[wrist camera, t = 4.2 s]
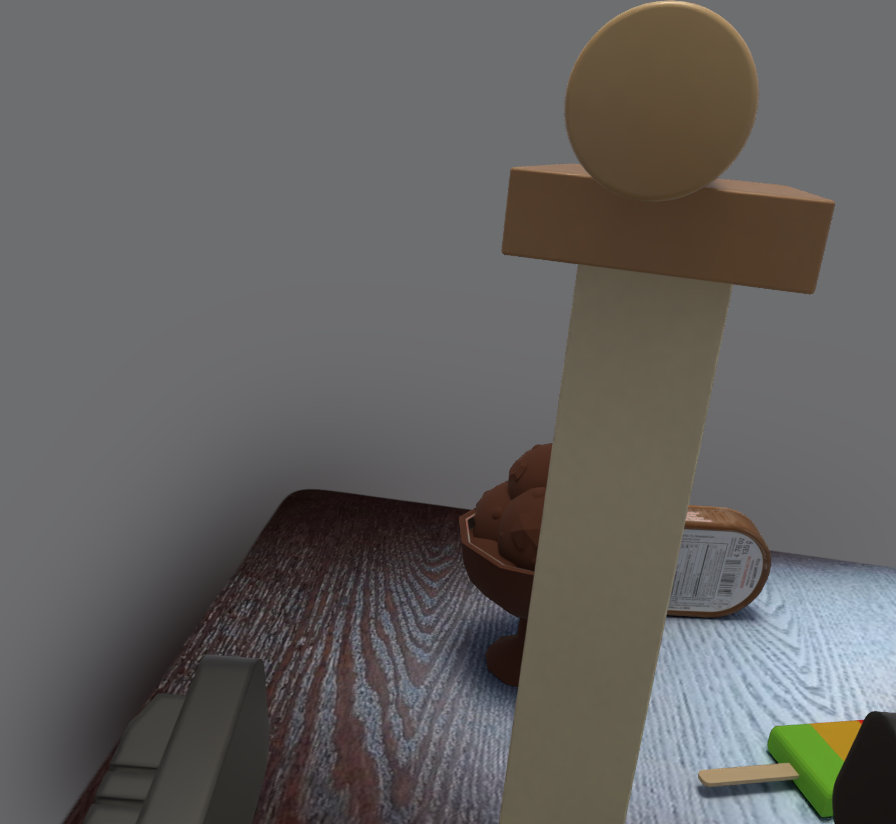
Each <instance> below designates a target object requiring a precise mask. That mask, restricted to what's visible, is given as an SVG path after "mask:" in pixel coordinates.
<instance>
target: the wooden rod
mask: <svg viewBox="0 0 896 824" xmlns="http://www.w3.org/2000/svg"><path fill="white" fill-rule="evenodd" d="M758 100H759V84H758V76H757V71H756V66H755V63H754V61H753V58H752V55H751V53H750V51H749V49H748V47H747V45H746V43H745V41H744V40H743V38H742V37H741V36H740V35H739V33H738V32H737V31H736V30H735V28H734V27H733V26H732V25H731V24H730V23H729V22H727V21H726V20H725V19H723V18H722V17H721V16H720V15H718V14H716V13H715V12H713V11H711V10H709V9H707V8H705V7H702V6H699V5H697V4H692V3H688V2H683V1H657V2H652V3H647V4H643V5H640V6H638V7H634V8H632V9H630V10H628V11H626V12H624V13H622V14H620V15H618V16H617V17H615V18H614V19H612V20H611V21H609V22H608V23H607V24H605V25H604V26H603V27H602V28H601V29H600V30H599V31H597V33H596V34H595V35H594V36H593V37H592V38H591V39H590V40H589V42H588V43H587V44H586V46H585V47H584V49H583V50H582V51H581V53H580V55H579V57H578V59H577V60H576V62H575V64H574V67H573V69H572V72H571V74H570V77H569V81H568V85H567V88H566V94H565V101H564V102H565V103H564V117H565V127H566V131H567V135H568V139H569V142H570V144H571V147H572V150H573V152H574V154H575V155H576V157H577V159H578V161H579V162H580V164H581V165H582V167H583V168H584V169H585V171H586V172H587V173H588V174H589V175H590V176H591V177H592V178H593V179H594V180H595V181H597V182H598V183H599V184H600V185H602V186H603V187H605V188H606V189H608V190H610V191H611V192H613V193H616V194H618V195H620V196H623V197H626V198H630V199H633V200H639V201H647V202H660V201H667V200H673V199H677V198H681V197H684V196H687V195H689V194H692V193H694V192H697V191H698V190H700V189H702V188H704V187H705V186H707V185H709V184H710V183H711V182H713V181H714V180H716V179H717V178H718V177H719V176H720V175H721V174H723V173H724V172H725V171H726V170H727V169H728V168H729V166H730V165H731V164H732V163H733V162H734V161H735V160H736V158H737V157H738V155H739V154H740V152H741V151H742V149H743V147H744V146H745V144H746V142H747V140H748V138H749V136H750V134H751V131H752V128H753V125H754V123H755V119H756V114H757V109H758Z"/></svg>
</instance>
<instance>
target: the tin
mask: <svg viewBox="0 0 896 824" xmlns="http://www.w3.org/2000/svg"><path fill="white" fill-rule="evenodd" d="M770 568H771V555H770V551H769V549H768V546H767V545H766V543H765V541H764V539H763V538H762V536H761V535H760V533H759V531H758V529H757V527H756V526H755V525H754V523H753V522H752V521H751V520H750V519H749V518H748V517H746V516H745V515H743V514H742V513H740V512H738V511H735V510H732V509H729V508H722V507H709V506H695V505H689V506H688V511H687V516H686V521H685V526H684V531H683V536H682V541H681V546H680V551H679V556H678V561H677V566H676V571H675V576H674V581H673V586H672V591H671V596H670V601H669V606H668V610H667V615H676V616H691V617H721V616H725V615H729V614H732V613H734V612H737V611H739V610H741V609H742V608H744V607H746V606H747V605H748V604H750V603H751V602H752V601H753V600H754V599H755V598H756V597H757V596H758V595H759V594H760V592H761V591H762V589H763V587H764V585H765V583H766V581H767V579H768V576H769V573H770Z"/></svg>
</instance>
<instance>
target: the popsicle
mask: <svg viewBox="0 0 896 824" xmlns="http://www.w3.org/2000/svg"><path fill="white" fill-rule="evenodd" d="M863 721H864V720H855V721H841V722H827V723H814V724H800V725H786V726H775V727H774V728H773V729H772V730H771V732H770V736H769V739H768V744H767V745H768V750H769V752H770V753H771V754H772V756H773V757H774V758H775V759H776V761H777V762H778V763H779V764H769V765H757V766H745V767H733V768H721V769H709V770H701V771H699V774H698V778H699V780H700V782H701V783H702V784H703V785H704V786H707V787H716V786H727V785H738V784H749V783H760V782H772V781H783V780H792V781H793V782H794V783H795V784H796V786H797V787H798V788H799V789H800V791H801V792H802V793H803V795H804V796H805V797H806V798H807V800H808V801H809V802H810V803H811V805H812V806H813V807H814V808H815V810H816V811H817V812H818V813H819V815H820V816H821V817H830V816H833V808H832V794H833V787H834V783H835V780H836V778H837V776H838V774H839V771H840V769H841V767H842V765H843V763H844V761H845V759H846V757H847V755H848V752H849V750H850V748H851V746H852V744H853V742H854V740H855V738H856V736H857V733H858V731H859V729H860V727H861V725H862V723H863Z"/></svg>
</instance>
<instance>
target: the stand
mask: <svg viewBox="0 0 896 824" xmlns="http://www.w3.org/2000/svg"><path fill="white" fill-rule="evenodd" d="M834 207H835V202H834V201H832V200H829V199H826V198H823V197H819V196H816V195H813V194H810V193H807V192H804V191H801V190H797V189H794V188H791V187H788V186H785V185H776V184H766V183H756V182H746V181H736V180H727V179H716V180H714V181H713V182H711V183H710V184H709V185H707V186H705V187H704V188H702V189H700V190H698V191H697V192H694V193H692V194H689V195H687V196H684V197H681V198H677V199H673V200H667V201H660V202H647V201H639V200H633V199H630V198H626V197H623V196H620V195H618V194H616V193H613V192H611V191H610V190H608V189H606V188H605V187H603V186H602V185H600V184H599V183H598V182H597V181H595V180H594V179H593V178H592V177H591V176H590V175H589V174H588V173H587V172H586V171H585V169H584V168H583V167H582V165H581V164H558V165H543V166H542V165H541V166H524V167H523V166H522V167H513V168H511V170H510V179H509V187H508V197H507V205H506V214H505V223H504V232H503V241H502V253H503V254H504V255H511V256H519V257H528V258H534V259H542V260H550V261H558V262H566V263H573V264H578V267H577V274H576V281H575V289H574V296H573V303H572V309H571V317H570V324H569V331H568V338H567V346H566V352H565V359H564V367H563V374H562V381H561V388H560V395H559V402H558V409H557V416H556V423H555V431H554V437H553V444H552V451H551V459H550V466H549V473H548V480H547V487H546V494H545V501H544V508H543V515H542V522H541V530H540V537H539V544H538V551H537V558H536V565H535V572H534V579H533V586H532V593H531V600H530V608H529V615H528V622H527V629H526V636H525V643H524V650H523V657H522V664H521V671H520V679H519V686H518V693H517V700H516V707H515V714H514V721H513V728H512V735H511V742H510V750H509V757H508V764H507V771H506V778H505V785H504V792H503V799H502V806H501V813H500V821H499V824H625V819H626V814H627V809H628V804H629V799H630V794H631V789H632V784H633V780H634V775H635V770H636V765H637V760H638V755H639V750H640V745H641V740H642V735H643V730H644V725H645V720H646V715H647V710H648V705H649V700H650V695H651V690H652V685H653V680H654V675H655V670H656V665H657V660H658V655H659V650H660V645H661V640H662V635H663V630H664V625H665V620H666V615H667V610H668V606H669V601H670V596H671V591H672V586H673V581H674V576H675V571H676V566H677V561H678V556H679V551H680V546H681V541H682V536H683V531H684V526H685V521H686V516H687V511H688V506H689V501H690V496H691V490H692V486H693V481H694V476H695V471H696V466H697V461H698V456H699V451H700V446H701V441H702V436H703V432H704V427H705V422H706V416H707V412H708V407H709V402H710V396H711V392H712V386H713V381H714V377H715V372H716V367H717V362H718V357H719V352H720V347H721V341H722V337H723V332H724V327H725V322H726V317H727V312H728V307H729V302H730V297H731V292H732V287H733V284H734V285H742V286H749V287H757V288H765V289H772V290H780V291H788V292H795V293H803V294H813V293H814V292H815V289H816V285H817V280H818V276H819V272H820V267H821V263H822V259H823V254H824V250H825V246H826V241H827V237H828V233H829V229H830V224H831V220H832V216H833V212H834Z"/></svg>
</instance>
